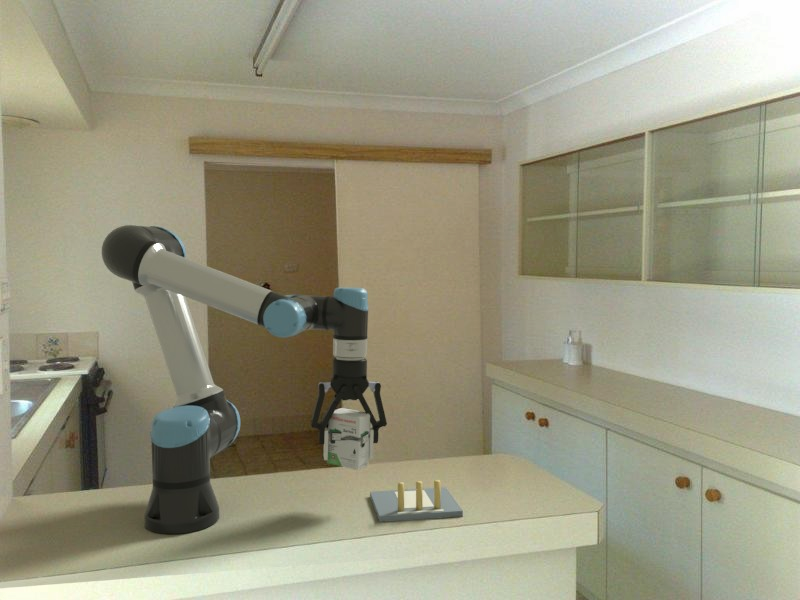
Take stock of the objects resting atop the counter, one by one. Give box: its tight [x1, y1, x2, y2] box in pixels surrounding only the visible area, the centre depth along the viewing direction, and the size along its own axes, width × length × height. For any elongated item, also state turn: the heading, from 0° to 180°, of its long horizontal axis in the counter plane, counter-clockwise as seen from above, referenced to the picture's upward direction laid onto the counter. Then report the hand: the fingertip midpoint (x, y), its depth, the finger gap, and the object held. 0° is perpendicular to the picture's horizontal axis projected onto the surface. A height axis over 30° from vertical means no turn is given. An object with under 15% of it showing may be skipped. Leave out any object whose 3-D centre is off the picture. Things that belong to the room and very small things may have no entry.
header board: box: [369, 479, 464, 523], centre depth 160 cm, size 18×16×7 cm
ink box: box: [326, 407, 371, 471], centre depth 159 cm, size 9×5×12 cm, turn 61°
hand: (348, 457), depth 159 cm, fingers closed on ink box, 9 cm apart
